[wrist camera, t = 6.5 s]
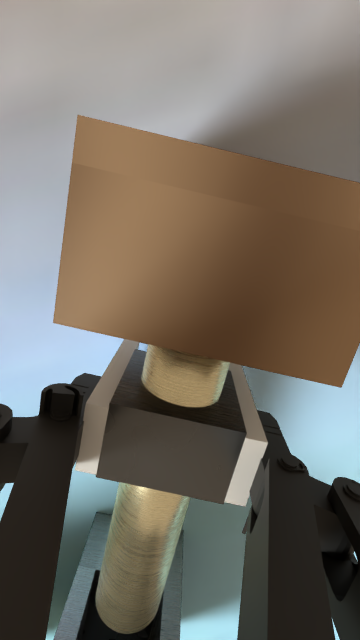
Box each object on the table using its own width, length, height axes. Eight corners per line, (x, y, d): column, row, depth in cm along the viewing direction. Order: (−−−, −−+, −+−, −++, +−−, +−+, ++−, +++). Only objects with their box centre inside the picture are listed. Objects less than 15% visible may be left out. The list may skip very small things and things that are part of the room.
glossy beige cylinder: (96, 540, 19) (65, 645, 14) (156, 241, 14) (137, 249, 9) (175, 557, 19) (169, 665, 14) (261, 266, 14) (295, 286, 9)
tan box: (122, 274, 17) (53, 322, 9) (140, 174, 16) (77, 114, 7) (268, 307, 18) (341, 387, 9) (298, 212, 16) (419, 197, 7)
